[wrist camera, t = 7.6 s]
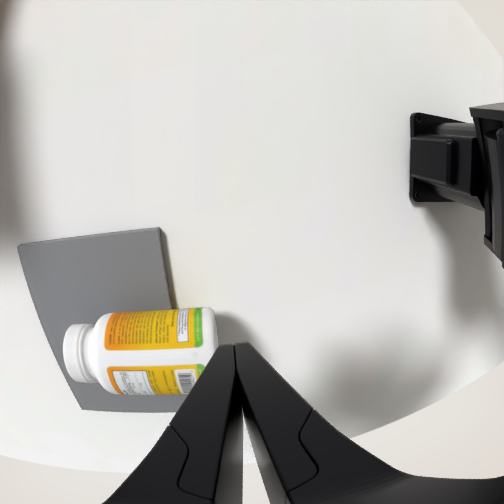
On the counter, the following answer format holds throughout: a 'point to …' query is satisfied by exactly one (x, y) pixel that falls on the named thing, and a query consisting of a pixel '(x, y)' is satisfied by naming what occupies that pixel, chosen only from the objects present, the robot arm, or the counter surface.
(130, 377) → the supplement bottle
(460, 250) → the counter surface
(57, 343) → the charcoal mat
